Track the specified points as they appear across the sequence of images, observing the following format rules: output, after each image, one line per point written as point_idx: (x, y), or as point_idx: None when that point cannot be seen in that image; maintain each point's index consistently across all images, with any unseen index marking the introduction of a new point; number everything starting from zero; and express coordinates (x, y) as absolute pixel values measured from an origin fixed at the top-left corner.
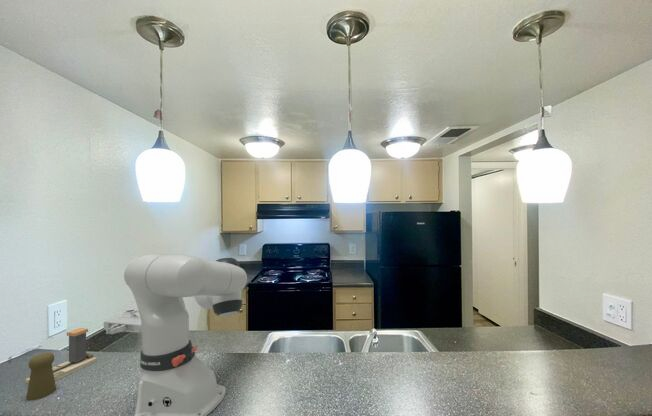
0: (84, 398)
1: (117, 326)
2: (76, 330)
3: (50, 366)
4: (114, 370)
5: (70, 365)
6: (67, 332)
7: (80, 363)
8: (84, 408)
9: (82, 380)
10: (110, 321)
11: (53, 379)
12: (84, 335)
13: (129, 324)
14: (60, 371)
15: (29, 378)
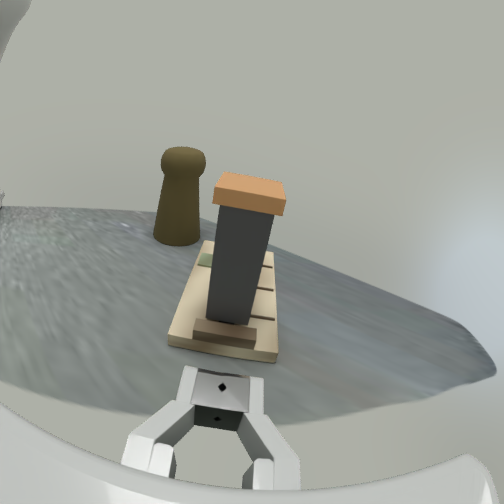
0: (74, 220)
1: (249, 481)
2: (260, 185)
3: (164, 179)
4: (56, 283)
5: None
6: (278, 182)
7: (196, 300)
8: (62, 209)
9: (119, 257)
10: (415, 478)
11: (158, 212)
12: (219, 215)
13: (56, 437)
14: (211, 265)
15: (267, 253)
